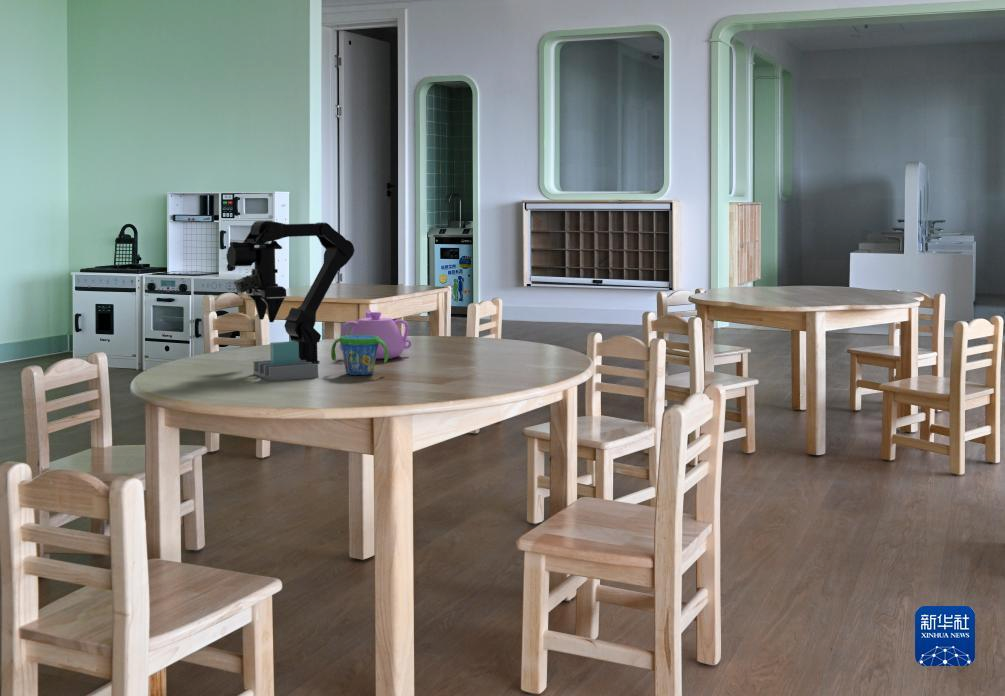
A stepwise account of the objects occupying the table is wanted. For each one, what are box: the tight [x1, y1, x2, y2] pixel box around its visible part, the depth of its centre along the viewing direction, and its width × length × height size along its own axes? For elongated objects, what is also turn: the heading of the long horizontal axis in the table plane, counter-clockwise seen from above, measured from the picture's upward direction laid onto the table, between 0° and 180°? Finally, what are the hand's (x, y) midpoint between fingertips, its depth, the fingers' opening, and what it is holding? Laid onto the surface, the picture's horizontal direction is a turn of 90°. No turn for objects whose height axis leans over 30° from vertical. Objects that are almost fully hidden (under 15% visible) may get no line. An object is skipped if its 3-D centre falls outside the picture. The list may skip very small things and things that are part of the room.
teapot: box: [339, 309, 413, 360], centre depth 330 cm, size 22×22×14 cm
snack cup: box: [330, 334, 389, 376], centre depth 294 cm, size 16×10×10 cm
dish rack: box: [252, 358, 319, 382], centre depth 291 cm, size 13×15×4 cm
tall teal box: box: [269, 340, 299, 365], centre depth 291 cm, size 7×2×8 cm, turn 120°
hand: (266, 320), depth 308 cm, fingers open, 9 cm apart
